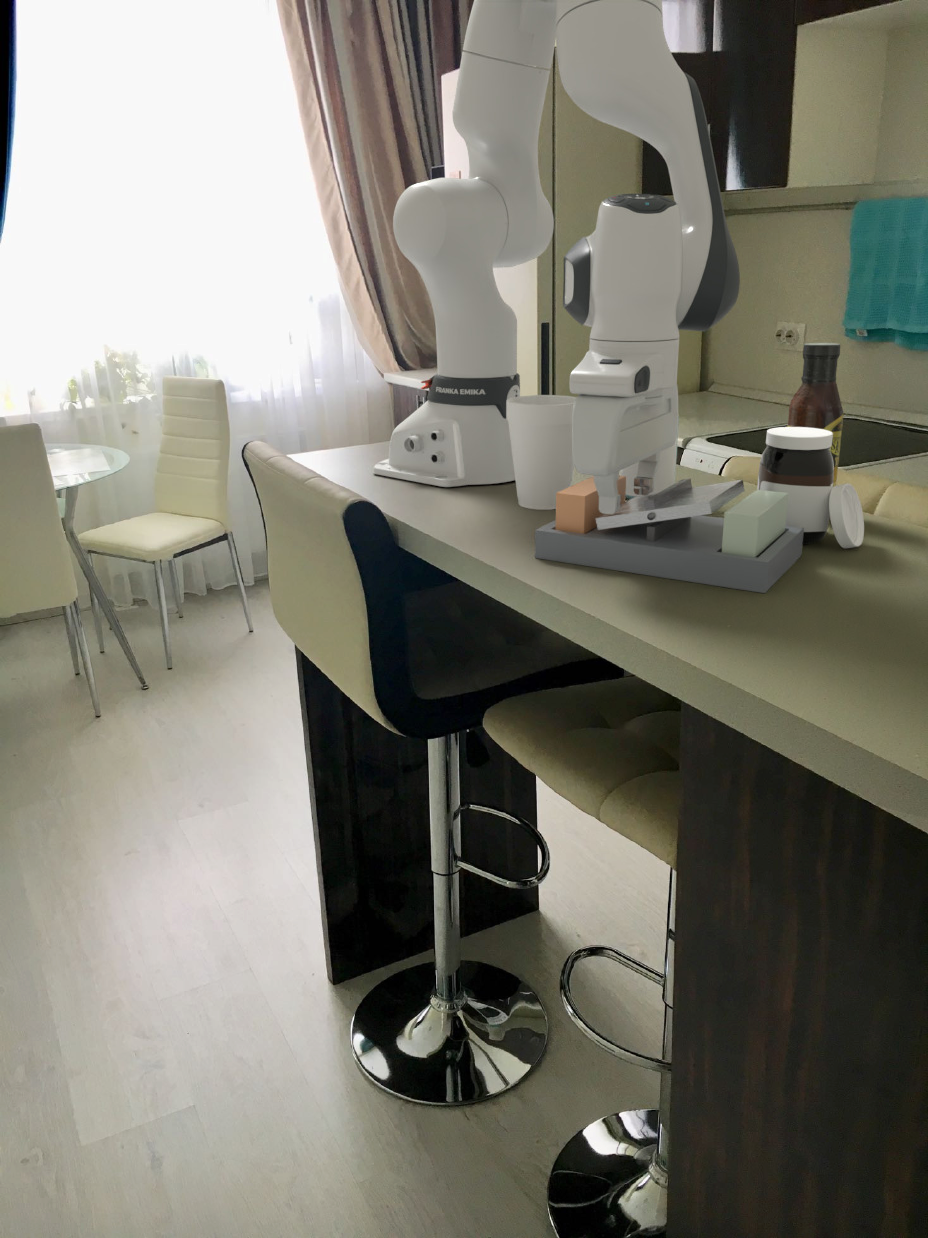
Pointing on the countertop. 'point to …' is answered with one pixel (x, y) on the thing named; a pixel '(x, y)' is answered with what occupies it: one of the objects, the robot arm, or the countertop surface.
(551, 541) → the grey rectangular tray
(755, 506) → the button sage
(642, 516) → the rocker
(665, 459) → the can
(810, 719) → the countertop surface
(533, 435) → the foam cup
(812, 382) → the sauce bottle
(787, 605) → the countertop surface
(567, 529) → the button terracotta
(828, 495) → the spread jar
